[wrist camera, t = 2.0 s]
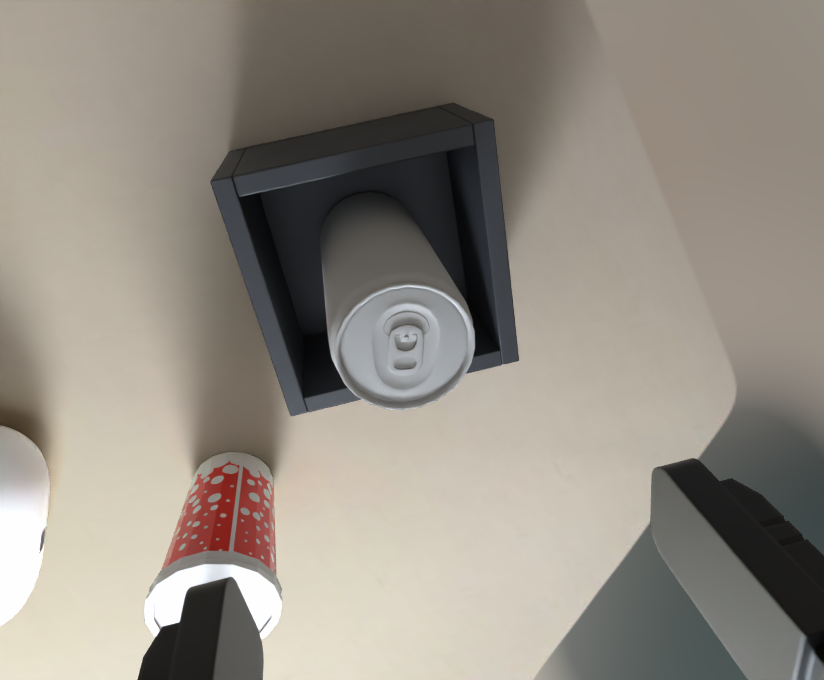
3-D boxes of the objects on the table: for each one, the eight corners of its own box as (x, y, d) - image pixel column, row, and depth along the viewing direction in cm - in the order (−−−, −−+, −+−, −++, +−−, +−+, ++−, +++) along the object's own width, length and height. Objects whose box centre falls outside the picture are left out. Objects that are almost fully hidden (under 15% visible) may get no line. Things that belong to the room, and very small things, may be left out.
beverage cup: (168, 511, 35) (97, 765, 23) (194, 430, 33) (131, 663, 21) (269, 529, 37) (253, 772, 25) (299, 454, 35) (299, 680, 23)
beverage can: (418, 189, 28) (487, 277, 18) (413, 282, 31) (473, 409, 20) (317, 188, 28) (327, 280, 17) (320, 284, 30) (331, 417, 19)
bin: (454, 102, 27) (493, 118, 22) (481, 305, 32) (519, 361, 27) (228, 150, 27) (209, 181, 21) (292, 350, 32) (290, 417, 26)
